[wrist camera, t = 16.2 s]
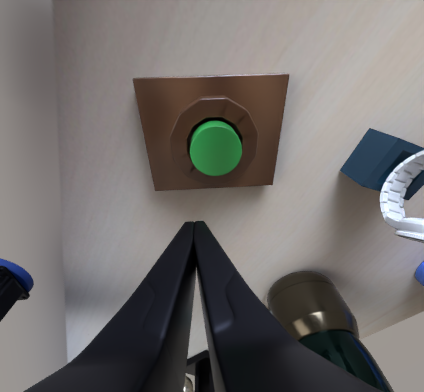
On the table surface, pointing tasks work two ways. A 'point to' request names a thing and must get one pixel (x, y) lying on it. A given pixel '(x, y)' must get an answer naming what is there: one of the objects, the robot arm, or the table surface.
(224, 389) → the robot arm
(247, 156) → the button block
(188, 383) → the switch lever
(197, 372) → the switch bracket
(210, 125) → the green button
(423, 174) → the watch
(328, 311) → the lamp
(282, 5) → the table surface
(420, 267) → the water bottle
